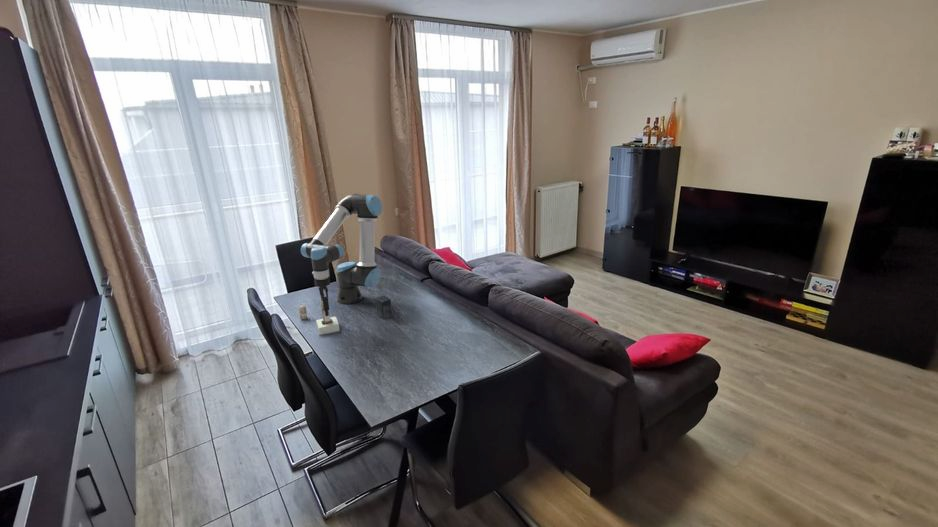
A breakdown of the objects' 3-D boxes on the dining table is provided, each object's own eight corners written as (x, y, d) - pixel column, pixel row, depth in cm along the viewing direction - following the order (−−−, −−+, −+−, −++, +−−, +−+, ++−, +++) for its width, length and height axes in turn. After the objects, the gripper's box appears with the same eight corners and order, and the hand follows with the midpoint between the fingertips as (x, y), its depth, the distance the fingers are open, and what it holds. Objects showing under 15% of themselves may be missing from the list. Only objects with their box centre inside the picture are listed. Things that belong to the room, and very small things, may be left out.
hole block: (317, 326, 218) (316, 320, 217) (336, 323, 222) (335, 316, 221) (319, 334, 210) (318, 327, 208) (339, 330, 214) (338, 324, 212)
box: (392, 316, 230) (390, 299, 227) (383, 319, 227) (381, 301, 223) (385, 311, 236) (384, 294, 232) (376, 314, 232) (375, 297, 229)
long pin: (323, 325, 216) (320, 300, 212) (330, 323, 218) (327, 299, 213) (324, 327, 213) (321, 303, 209) (331, 326, 214) (328, 302, 210)
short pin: (300, 317, 229) (298, 306, 226) (307, 316, 230) (305, 304, 228) (300, 320, 226) (298, 308, 223) (307, 318, 227) (306, 307, 225)
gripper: (312, 273, 212) (317, 314, 220) (315, 283, 198) (321, 327, 205) (327, 271, 215) (332, 311, 223) (331, 281, 201) (336, 324, 209)
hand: (326, 319), depth 214 cm, fingers closed on long pin, 3 cm apart
